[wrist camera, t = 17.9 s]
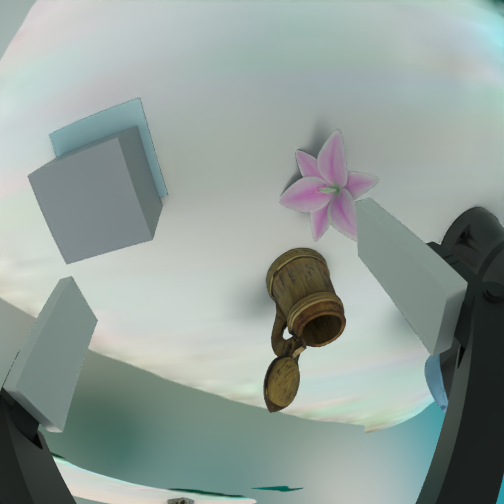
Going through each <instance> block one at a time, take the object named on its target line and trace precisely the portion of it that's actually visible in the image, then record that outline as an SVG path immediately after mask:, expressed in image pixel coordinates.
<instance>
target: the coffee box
mask: <svg viewBox="0 0 504 504" xmlns="http://www.w3.org/2000/svg"><path fill="white" fill-rule="evenodd" d="M168 504H194V501H193V500H190V499H187V498H179V499H171V500H168Z"/></svg>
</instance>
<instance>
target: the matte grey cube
mask: <svg viewBox="0 0 504 504" xmlns="http://www.w3.org/2000/svg"><path fill="white" fill-rule="evenodd" d="M28 178H29V181H30V184H31V186H32V189H33V191H34V194H35V196H36V199H37V201H38V204H39V206H40V209H41V211H42V213H43V216H44V218H45V220H46V223H47V225H48V227H49V229H50V231H51V234H52V236H53V238H54V240H55V242H56V244H57V246H58V248H59V250H60V252H61V254H62V256H63V258H64V260H65V262H66V264H70V263H73V262H77V261H80V260H83V259H87V258H90V257H94V256H97V255H101V254H104V253H107V252H111V251H114V250H118V249H122V248H125V247H129V246H132V245H136V244H139V243H143V242H147V241H150V240H153V237H154V234H155V230H156V227H157V223H158V220H159V216H160V213H161V210H162V203H161V200H160V197H159V195H158V192H157V188H156V185H155V182H154V179H153V176H152V173H151V170H150V166H149V163H148V160H147V157H146V153H145V150H144V147H143V143H142V140H141V136H140V133H139V129H138V126H134V127H131V128H128V129H125V130H123V131H120V132H117V133H114V134H111V135H109V136H106V137H103V138H101V139H98V140H96V141H93V142H91V143H88V144H86V145H83V146H81V147H78V148H76V149H73V150H71V151H69V152H66V153H64V154H62V155H60V156H58V157H57V158H55V159H53V160H52V161H50V162H48V163H47V164H45V165H43V166H42V167H40V168H39V169H37V170H36V171H34V172H32V173H31V174H29V175H28Z"/></svg>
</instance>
